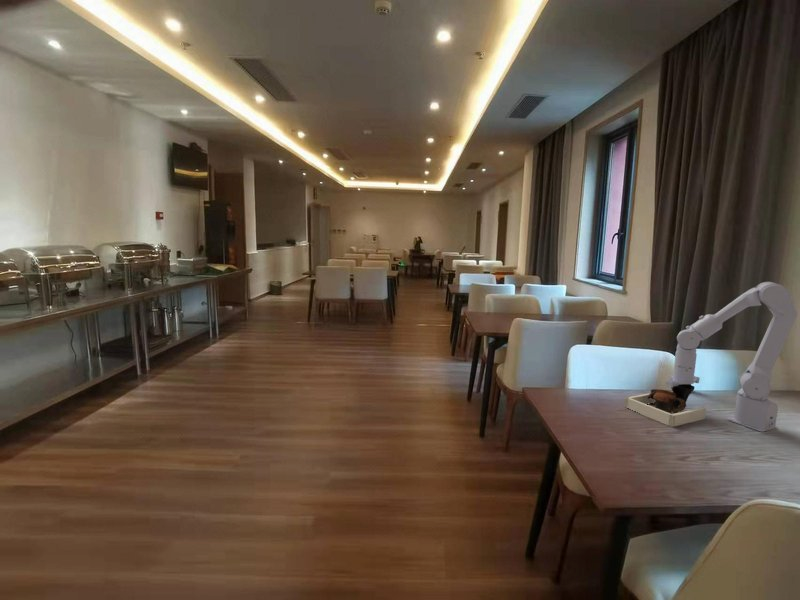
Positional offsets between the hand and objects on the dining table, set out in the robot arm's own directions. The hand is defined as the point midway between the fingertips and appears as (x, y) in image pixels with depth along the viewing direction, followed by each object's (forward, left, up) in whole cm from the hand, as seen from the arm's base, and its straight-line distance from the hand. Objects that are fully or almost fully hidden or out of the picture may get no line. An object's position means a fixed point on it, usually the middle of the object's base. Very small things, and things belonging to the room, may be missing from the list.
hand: (679, 405), depth 139 cm
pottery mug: (+1, +7, -2) cm, 7 cm away
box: (0, +8, -2) cm, 8 cm away
